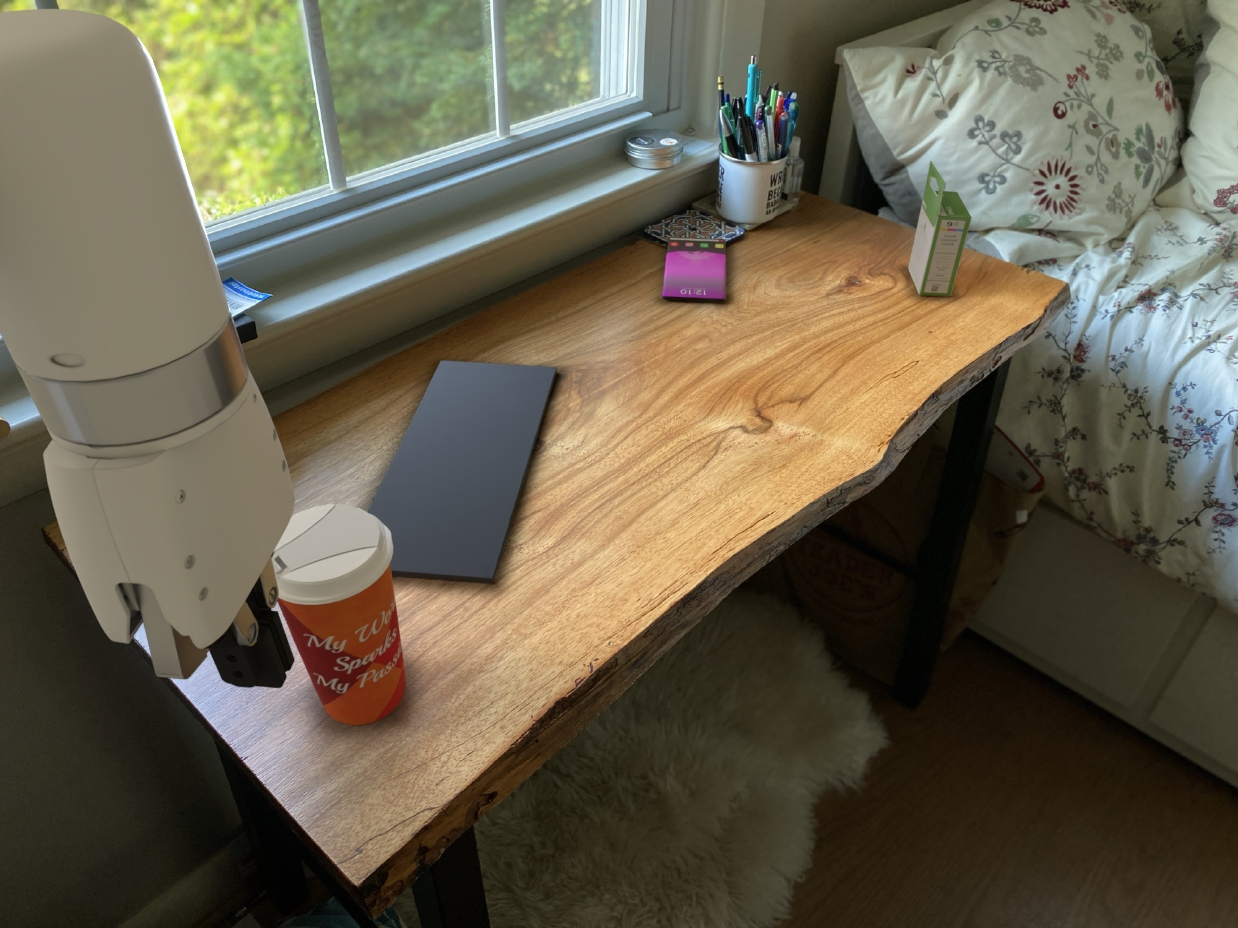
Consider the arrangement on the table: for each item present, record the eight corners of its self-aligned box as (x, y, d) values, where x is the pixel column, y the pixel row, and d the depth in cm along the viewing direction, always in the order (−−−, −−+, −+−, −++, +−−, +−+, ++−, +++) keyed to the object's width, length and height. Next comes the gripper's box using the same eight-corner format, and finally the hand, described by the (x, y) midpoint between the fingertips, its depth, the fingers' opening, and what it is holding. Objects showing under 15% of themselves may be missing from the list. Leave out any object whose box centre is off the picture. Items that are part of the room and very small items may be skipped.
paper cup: (340, 760, 59) (291, 609, 50) (286, 687, 64) (232, 536, 55) (445, 694, 63) (416, 543, 54) (387, 629, 68) (352, 480, 59)
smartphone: (725, 245, 117) (726, 238, 116) (725, 303, 105) (726, 296, 105) (668, 243, 118) (668, 236, 117) (661, 300, 106) (661, 293, 105)
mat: (493, 584, 71) (492, 578, 71) (341, 572, 72) (340, 566, 72) (556, 371, 95) (556, 366, 94) (441, 365, 96) (440, 360, 95)
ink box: (953, 298, 106) (981, 184, 98) (917, 297, 107) (942, 183, 98) (940, 270, 112) (965, 160, 104) (906, 269, 112) (929, 159, 104)
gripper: (146, 274, 42) (251, 564, 53) (-85, 487, 30) (112, 798, 42) (306, 282, 41) (377, 574, 53) (132, 502, 30) (272, 815, 41)
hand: (260, 672), depth 47 cm, fingers closed
